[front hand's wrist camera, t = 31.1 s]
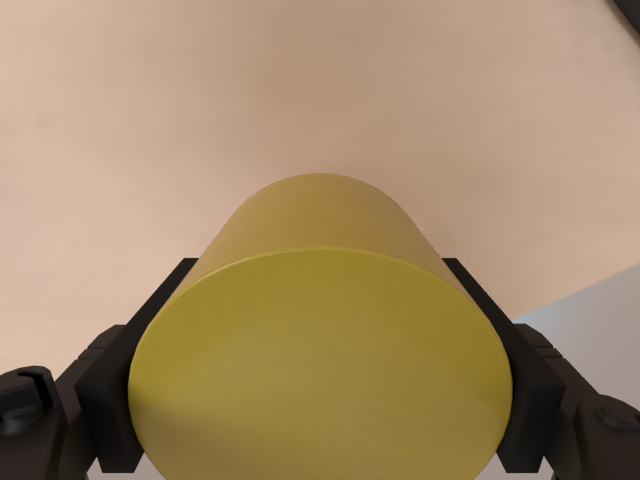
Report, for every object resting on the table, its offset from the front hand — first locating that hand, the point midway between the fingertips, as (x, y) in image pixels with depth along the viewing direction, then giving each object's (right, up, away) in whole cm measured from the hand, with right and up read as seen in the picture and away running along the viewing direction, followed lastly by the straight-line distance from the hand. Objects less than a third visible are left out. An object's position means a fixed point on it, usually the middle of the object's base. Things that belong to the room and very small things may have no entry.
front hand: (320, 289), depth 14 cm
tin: (0, 0, +1) cm, 1 cm away
